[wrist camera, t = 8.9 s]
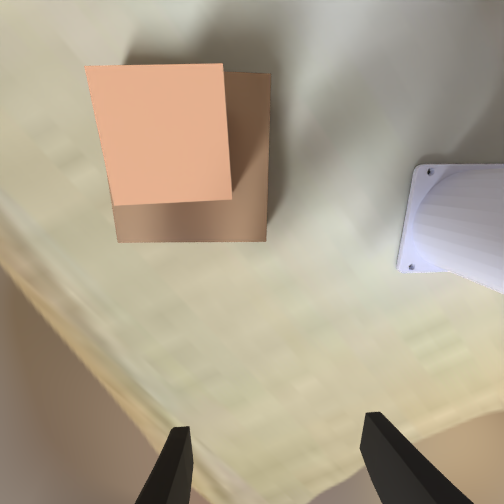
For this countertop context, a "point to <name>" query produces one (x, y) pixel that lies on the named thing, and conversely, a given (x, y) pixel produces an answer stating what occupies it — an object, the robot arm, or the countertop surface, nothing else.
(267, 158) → the walnut box
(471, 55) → the countertop surface
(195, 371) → the countertop surface
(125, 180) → the peach block
